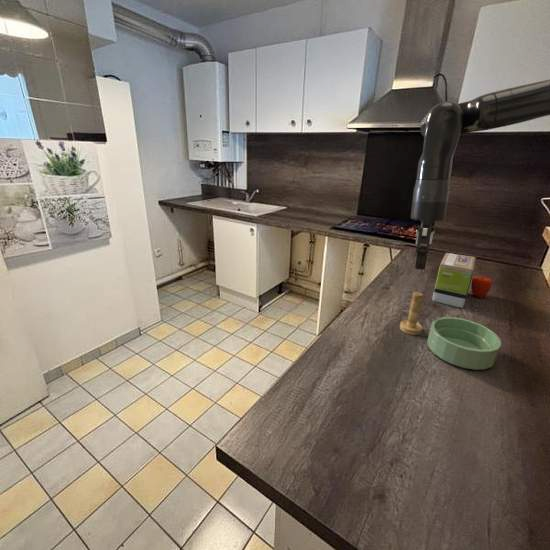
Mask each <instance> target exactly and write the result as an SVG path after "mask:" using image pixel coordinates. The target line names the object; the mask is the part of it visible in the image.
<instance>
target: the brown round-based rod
mask: <svg viewBox="0 0 550 550" xmlns="http://www.w3.org/2000/svg"><path fill="white" fill-rule="evenodd" d="M423 298H424V293H423V292H422V293H421V292H419V291H413V293H412V297H411V302H410V306H409V309H408V310H409V311H408V316H407V319H402V320H401V321H400V324H399V329H400V331H401V332H403V333H405V334H408V335H412V336H418V335H420V334H421V333H422V331H423V326H422V325H421V323H419V322H418V319H419V315H420V310H421V306H422V302H423Z"/></svg>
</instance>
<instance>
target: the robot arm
mask: <svg viewBox="0 0 550 550" xmlns="http://www.w3.org/2000/svg"><path fill="white" fill-rule="evenodd" d="M548 116H550V79H546V80H540V81H536V82H533V83H532V82H531V83H527V84H523V85H522V84H521V85H518V86H513V87H507V88H505V89H504V88H503V89H501V90H496V91H492V92H488V93H484V94H482V95H479V96H477V97H475V98H473V99H471V100H469V101H468V100H467V101H463V102H460V103H457V102H455V101H450V100H447V101H442V102H440V103H437V104H436V105H434V107H432V108H431V109H430V110H429V111H428V112H427V113H426V114H425V115H424V117H423V118H422V120H421V122H420V134H421V135H422V137H423V145H422V146H423V147H422V151H421V155H420V156H419V159H418V163H417V171H416V177H415V184H414V187H413V194H412V201H411V209H410V210H411V212H410V219H411V220H414V221H420V225H417V227H416V231H415V234H416V235H415V236H416V239H415V246H416V249H415V254H416V256H415V257H416V258H415V264H414V267H415V268H414V269H416V270H422V271H424V270H426V266H427V261H428V260H427V259H428V254H430V250H429V248H430V247H432V244H433V237H434V236H435V232H436V231H435V230H436V226H433V225H434V222H441V221H444V220H446V217H447V209H448V203H449V195H450V186H451V184H450V183H451V175H452V170H453V169H452V168H453V160H454V156H455V155H454V154H455V151H456V148H457V146H458V143H459V139H460V136H463V135H467V134H470V133H475V132H483V131H489V130H493V129H498V128H504V127H507V126H512V125H516V124H517V125H518V124H521V123H524V122H529V121H532V120H536V119H539V118H543V117H548Z"/></svg>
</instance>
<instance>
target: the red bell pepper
mask: <svg viewBox="0 0 550 550" xmlns="http://www.w3.org/2000/svg"><path fill="white" fill-rule="evenodd" d="M492 285H493V280H492V279H491V278H489V277H487V276H484V275H475V276H474V277H472V279H471V283H470V287H471V288H470V289H471V292H472V295H473V296H474V297H478V298H485V297H486V295H488V293H489V291H490V290H491V288H492Z"/></svg>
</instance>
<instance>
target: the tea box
mask: <svg viewBox="0 0 550 550" xmlns="http://www.w3.org/2000/svg"><path fill="white" fill-rule="evenodd" d="M476 259H477V257H476V256H471V255H463V254H459V253H450V252H446V253H445V255H444V256H443V258H442V260H441V262H440V264H439V268H438V272H437V277H436V281H435V286H434V289H433V294H432V302H435V303H439V304H444V305H448V306H451V307H452V306H453V307H456V308H461V309H463V308H464V306H465V304H466V300H467V297H468V295H469V294H468V293H469V289H470V287H471V283H472V279H473V274H474V270H475V267H476Z"/></svg>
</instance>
